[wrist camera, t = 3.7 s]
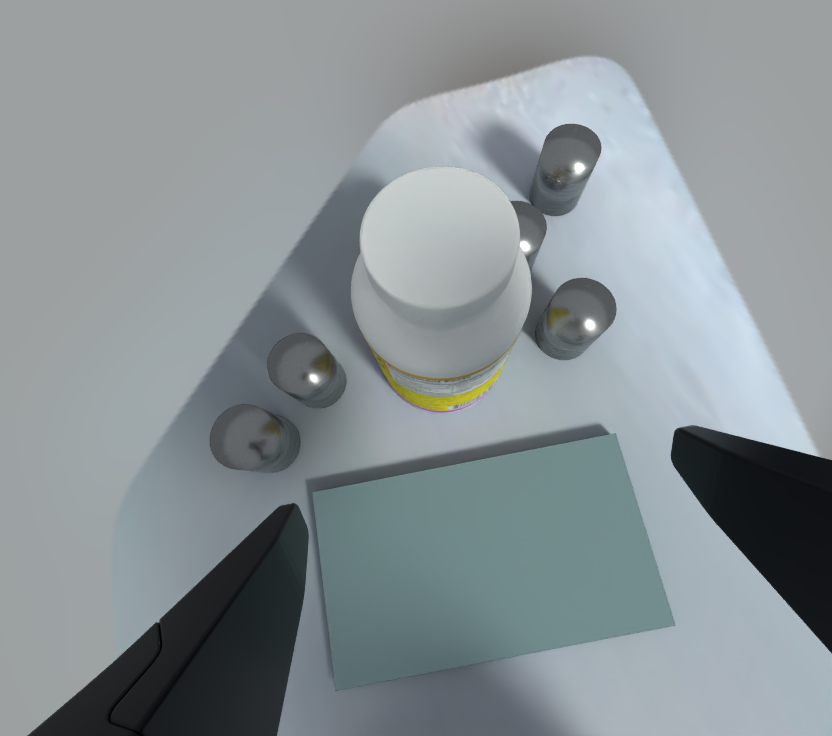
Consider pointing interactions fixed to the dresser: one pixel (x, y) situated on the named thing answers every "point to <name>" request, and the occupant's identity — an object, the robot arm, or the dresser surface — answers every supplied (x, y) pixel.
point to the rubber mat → (485, 562)
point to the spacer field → (325, 378)
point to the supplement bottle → (441, 285)
